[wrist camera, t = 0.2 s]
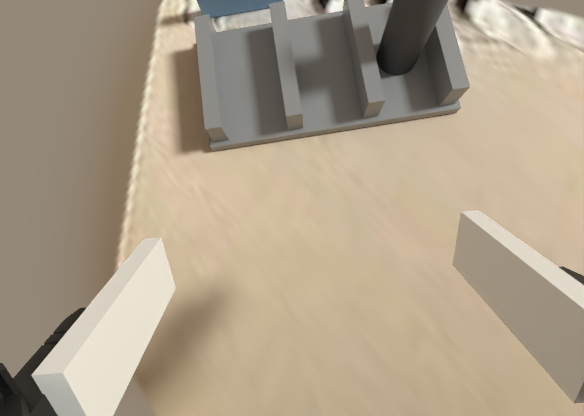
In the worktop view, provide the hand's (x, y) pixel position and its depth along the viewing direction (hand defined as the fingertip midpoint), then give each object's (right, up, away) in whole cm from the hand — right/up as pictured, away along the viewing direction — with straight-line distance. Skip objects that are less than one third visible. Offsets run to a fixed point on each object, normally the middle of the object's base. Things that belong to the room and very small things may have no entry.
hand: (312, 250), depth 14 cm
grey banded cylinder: (+10, +17, +18) cm, 27 cm away
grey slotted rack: (+2, +16, +19) cm, 25 cm away
